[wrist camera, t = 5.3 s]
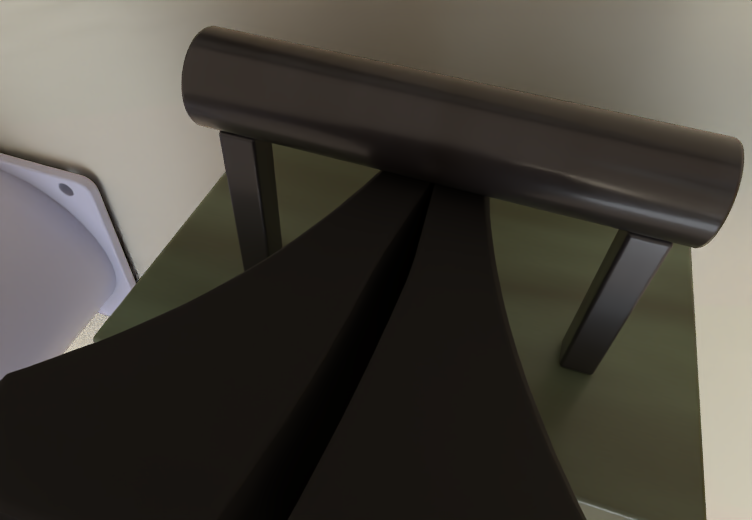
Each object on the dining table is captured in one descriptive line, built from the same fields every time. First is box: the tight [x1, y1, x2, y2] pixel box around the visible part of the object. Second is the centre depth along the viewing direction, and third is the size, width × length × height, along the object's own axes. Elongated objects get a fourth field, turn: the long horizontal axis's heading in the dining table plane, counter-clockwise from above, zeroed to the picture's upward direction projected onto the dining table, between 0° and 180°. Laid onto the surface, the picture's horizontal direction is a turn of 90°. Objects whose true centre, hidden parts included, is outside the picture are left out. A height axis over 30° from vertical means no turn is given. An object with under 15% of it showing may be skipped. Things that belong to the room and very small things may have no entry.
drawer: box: [93, 26, 744, 520], centre depth 15 cm, size 18×10×7 cm, turn 177°
